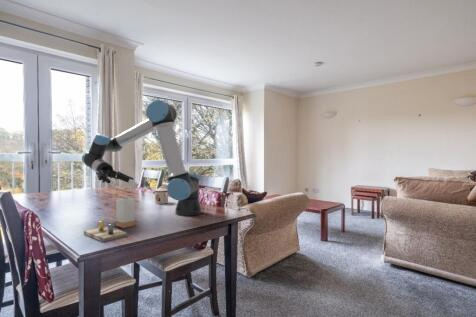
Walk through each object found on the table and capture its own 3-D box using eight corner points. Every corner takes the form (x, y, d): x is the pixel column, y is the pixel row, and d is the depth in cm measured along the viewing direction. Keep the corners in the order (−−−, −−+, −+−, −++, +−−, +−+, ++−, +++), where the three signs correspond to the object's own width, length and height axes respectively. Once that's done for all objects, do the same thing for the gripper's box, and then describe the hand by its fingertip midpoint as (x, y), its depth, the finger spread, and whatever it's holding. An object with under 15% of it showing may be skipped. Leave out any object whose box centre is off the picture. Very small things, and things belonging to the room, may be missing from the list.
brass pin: (104, 229, 120) (104, 220, 120) (102, 230, 118) (102, 221, 118) (100, 229, 120) (100, 220, 120) (97, 230, 118) (97, 221, 118)
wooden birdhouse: (152, 202, 189) (152, 186, 189) (164, 201, 196) (164, 185, 195) (161, 205, 181) (161, 187, 180) (173, 203, 187) (173, 186, 187)
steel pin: (114, 232, 115) (114, 223, 115) (112, 234, 113) (112, 224, 113) (109, 232, 115) (109, 223, 115) (107, 234, 113) (107, 224, 113)
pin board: (126, 235, 117) (126, 232, 116) (103, 241, 108) (103, 238, 108) (106, 229, 126) (106, 225, 126) (83, 234, 118) (83, 230, 118)
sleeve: (134, 225, 133) (134, 198, 132) (123, 227, 128) (123, 200, 128) (127, 223, 136) (127, 197, 136) (116, 225, 131) (116, 198, 131)
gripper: (119, 176, 159) (142, 193, 149) (77, 172, 137) (101, 191, 127) (124, 164, 158) (147, 180, 149) (83, 158, 136) (107, 177, 127)
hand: (126, 185), depth 138 cm, fingers open, 13 cm apart
